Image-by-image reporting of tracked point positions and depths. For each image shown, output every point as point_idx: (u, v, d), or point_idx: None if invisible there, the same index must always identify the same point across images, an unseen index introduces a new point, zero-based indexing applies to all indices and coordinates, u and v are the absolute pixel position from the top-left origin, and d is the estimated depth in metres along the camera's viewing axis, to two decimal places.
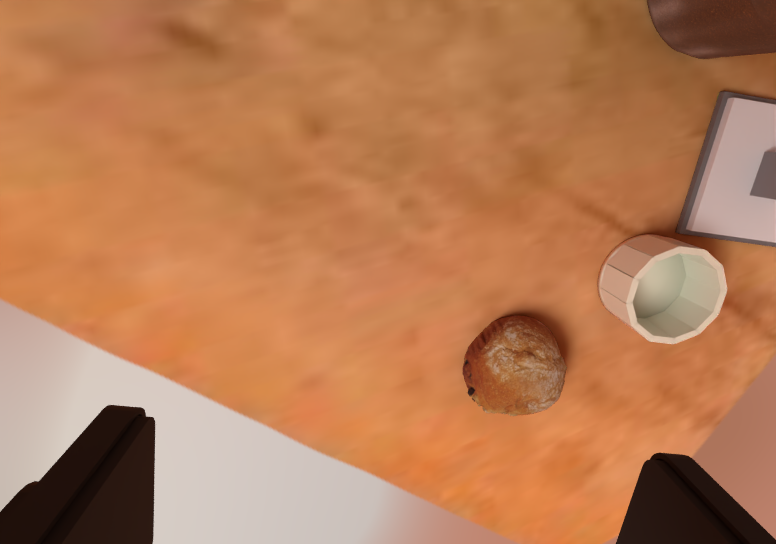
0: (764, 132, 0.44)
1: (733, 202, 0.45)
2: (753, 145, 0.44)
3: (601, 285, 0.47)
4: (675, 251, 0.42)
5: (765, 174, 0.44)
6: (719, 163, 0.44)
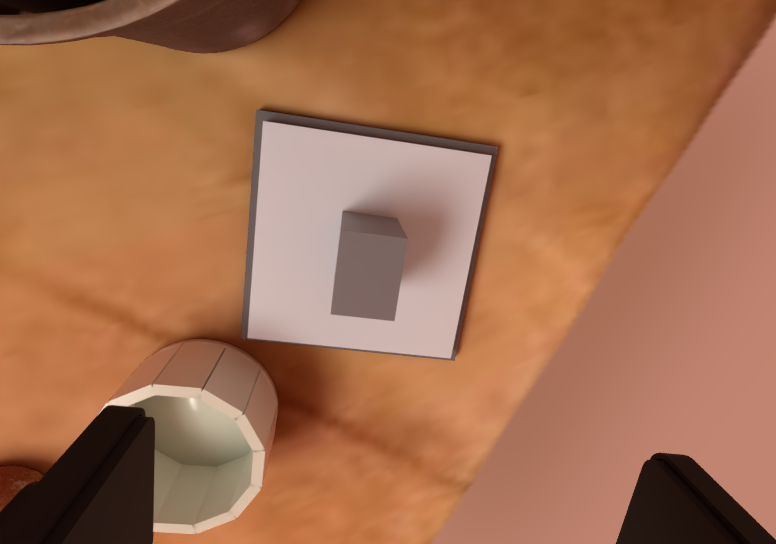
0: (334, 180, 0.26)
1: (308, 292, 0.27)
2: (318, 200, 0.26)
3: None
4: (146, 392, 0.24)
5: None
6: (266, 231, 0.26)
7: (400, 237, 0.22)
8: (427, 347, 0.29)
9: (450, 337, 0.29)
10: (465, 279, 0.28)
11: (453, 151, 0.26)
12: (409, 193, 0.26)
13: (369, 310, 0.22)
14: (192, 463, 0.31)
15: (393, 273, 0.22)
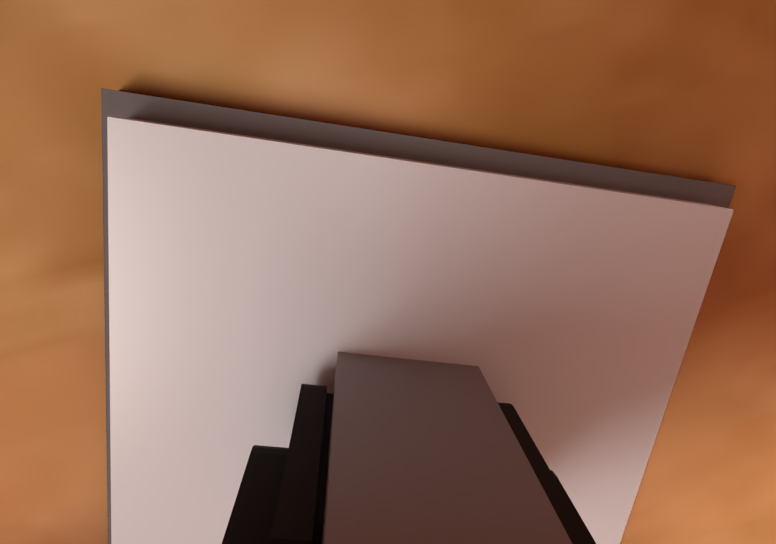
0: (316, 275, 0.10)
1: None
2: (274, 328, 0.10)
3: None
4: None
5: None
6: (139, 403, 0.10)
7: None
8: None
9: None
10: (632, 496, 0.12)
11: (635, 199, 0.10)
12: (512, 306, 0.10)
13: None
14: None
15: None
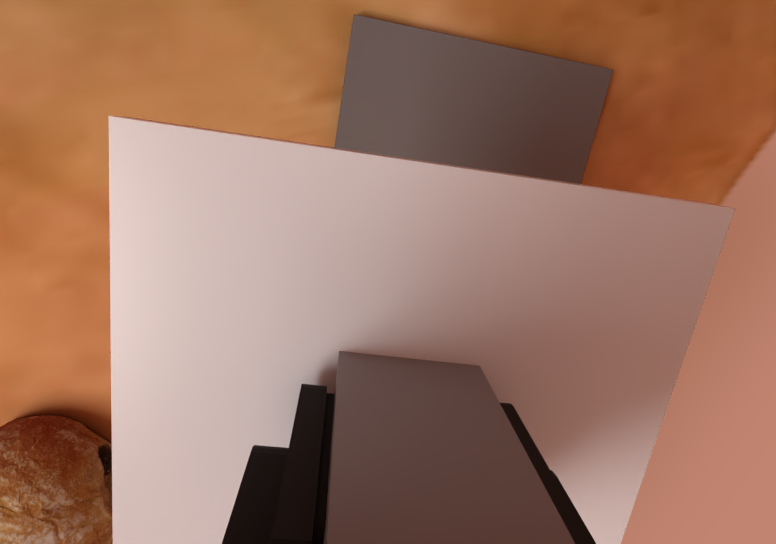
0: (317, 275, 0.10)
1: None
2: (275, 327, 0.10)
3: None
4: None
5: None
6: (141, 403, 0.10)
7: None
8: None
9: None
10: (633, 496, 0.12)
11: (637, 198, 0.10)
12: (514, 305, 0.10)
13: None
14: None
15: None
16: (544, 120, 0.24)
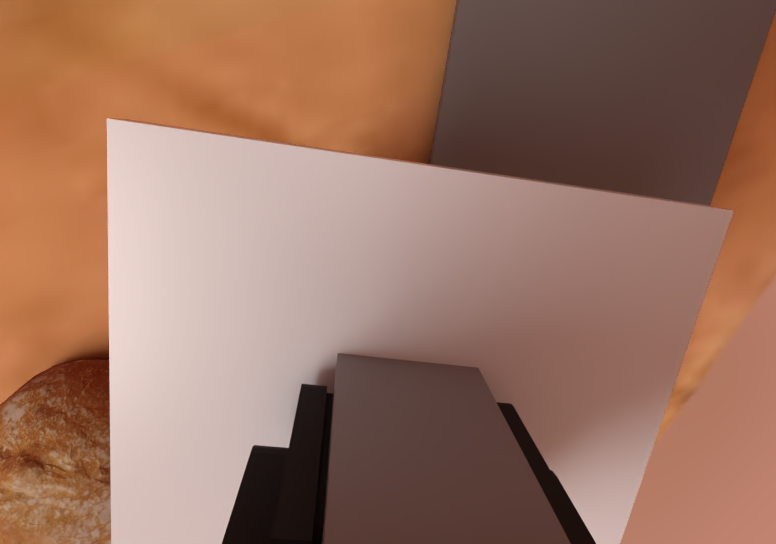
0: (315, 277, 0.09)
1: None
2: (274, 329, 0.10)
3: None
4: None
5: None
6: (139, 405, 0.10)
7: None
8: None
9: None
10: (632, 498, 0.12)
11: (635, 200, 0.10)
12: (512, 308, 0.10)
13: None
14: None
15: None
16: None
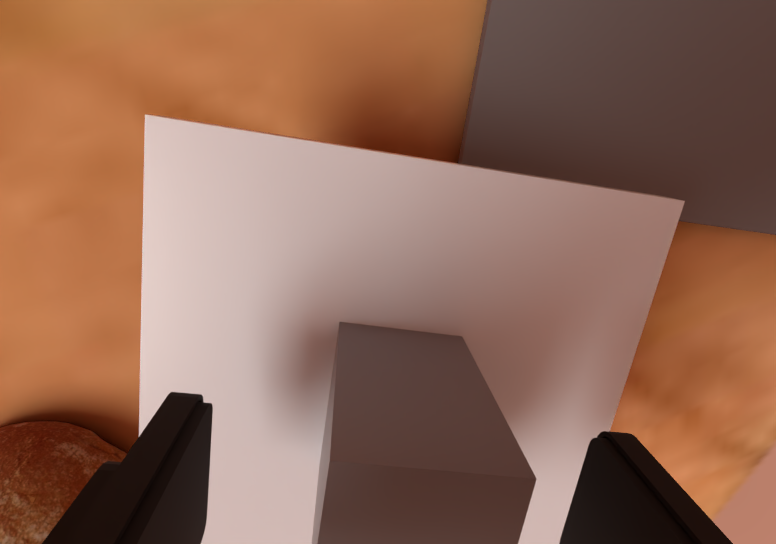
0: (321, 254, 0.11)
1: (265, 487, 0.13)
2: (285, 300, 0.11)
3: None
4: None
5: (327, 417, 0.11)
6: (166, 365, 0.11)
7: (512, 472, 0.07)
8: None
9: None
10: None
11: (599, 191, 0.11)
12: (492, 283, 0.11)
13: None
14: None
15: None
16: None
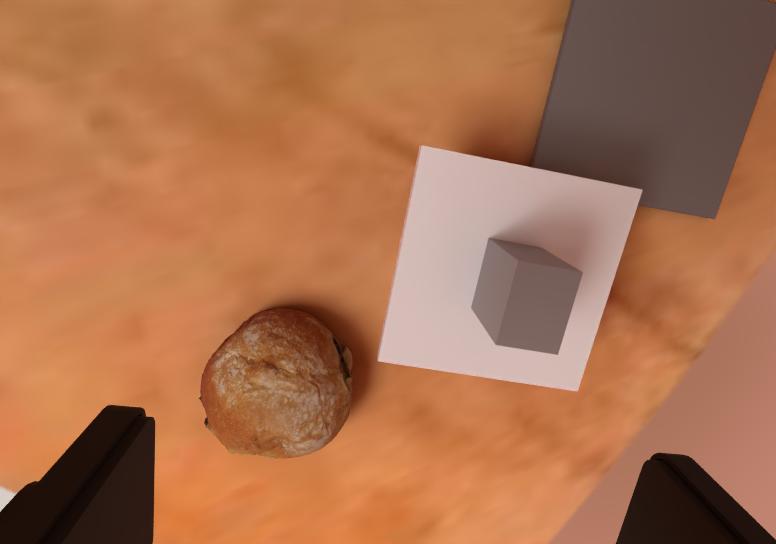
0: (484, 207, 0.25)
1: (444, 318, 0.27)
2: (466, 226, 0.26)
3: None
4: None
5: (484, 278, 0.25)
6: (410, 254, 0.26)
7: (575, 270, 0.21)
8: (555, 379, 0.28)
9: (579, 370, 0.28)
10: (601, 312, 0.27)
11: (605, 183, 0.25)
12: (556, 223, 0.26)
13: (535, 342, 0.22)
14: None
15: (564, 306, 0.22)
16: (730, 49, 0.29)
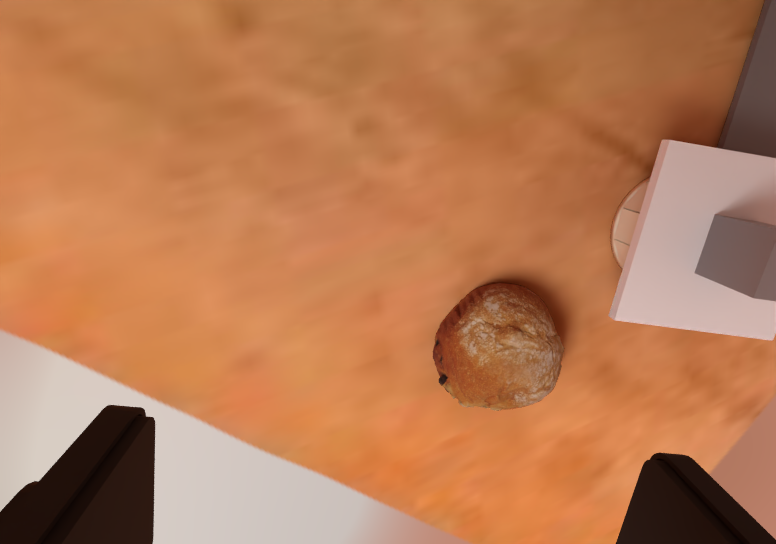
0: (714, 188, 0.31)
1: (672, 282, 0.32)
2: (698, 205, 0.31)
3: (615, 236, 0.37)
4: None
5: (714, 247, 0.31)
6: (650, 230, 0.31)
7: None
8: (755, 330, 0.34)
9: None
10: None
11: None
12: (770, 200, 0.31)
13: None
14: None
15: None
16: None
